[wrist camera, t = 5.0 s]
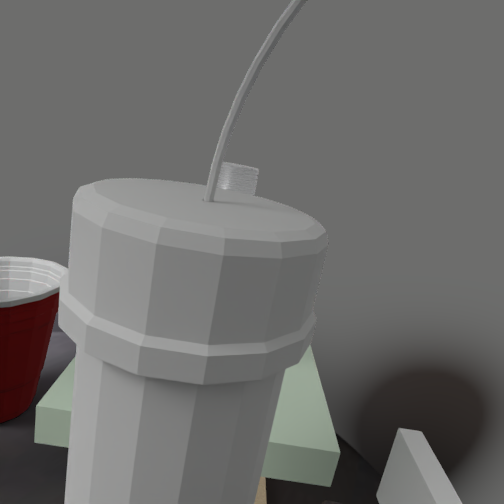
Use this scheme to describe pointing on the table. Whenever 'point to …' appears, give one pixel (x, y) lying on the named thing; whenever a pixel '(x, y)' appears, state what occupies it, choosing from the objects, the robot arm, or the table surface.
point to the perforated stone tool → (330, 502)
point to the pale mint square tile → (282, 433)
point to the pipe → (183, 329)
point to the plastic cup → (25, 327)
